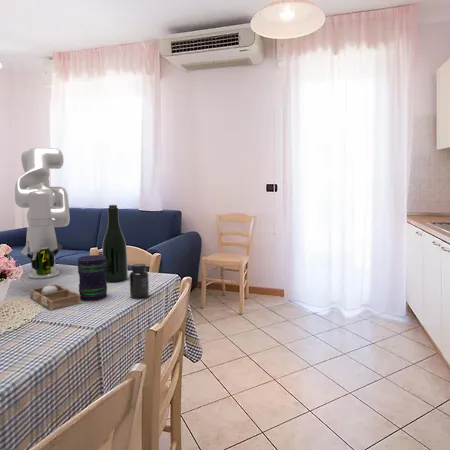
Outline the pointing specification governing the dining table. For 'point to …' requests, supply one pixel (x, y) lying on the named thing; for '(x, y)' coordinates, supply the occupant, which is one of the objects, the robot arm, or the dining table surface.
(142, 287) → the supplement bottle
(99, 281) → the storage jar
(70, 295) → the slot rack
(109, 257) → the wine bottle
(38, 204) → the robot arm
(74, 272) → the dining table surface
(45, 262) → the beer can
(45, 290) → the garlic
